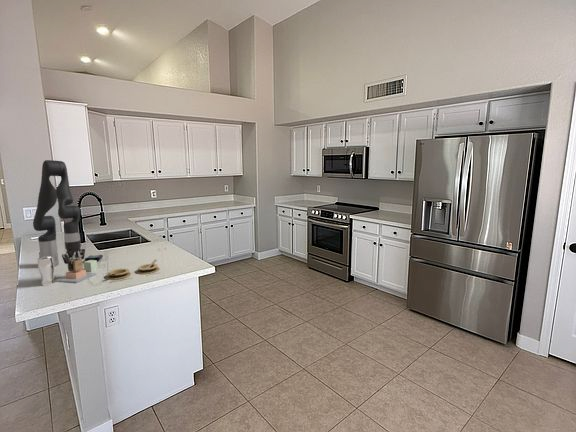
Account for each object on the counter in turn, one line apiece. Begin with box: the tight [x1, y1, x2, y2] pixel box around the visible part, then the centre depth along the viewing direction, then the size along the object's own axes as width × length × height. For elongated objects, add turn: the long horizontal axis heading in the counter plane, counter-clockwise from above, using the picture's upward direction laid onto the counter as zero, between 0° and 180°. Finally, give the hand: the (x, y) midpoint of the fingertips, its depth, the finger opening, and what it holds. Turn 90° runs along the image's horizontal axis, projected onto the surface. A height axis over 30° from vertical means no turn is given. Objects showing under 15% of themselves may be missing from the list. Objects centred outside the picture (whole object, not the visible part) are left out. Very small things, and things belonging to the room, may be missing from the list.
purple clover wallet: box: [84, 254, 104, 262], centre depth 218 cm, size 9×3×11 cm
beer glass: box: [37, 256, 56, 287], centre depth 172 cm, size 7×7×15 cm
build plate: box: [55, 269, 97, 284], centre depth 182 cm, size 14×14×4 cm
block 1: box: [67, 258, 84, 272], centre depth 181 cm, size 5×5×6 cm
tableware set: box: [105, 258, 161, 284], centre depth 191 cm, size 30×20×6 cm, turn 126°
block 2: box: [83, 260, 99, 273], centre depth 196 cm, size 5×5×6 cm
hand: (75, 268), depth 182 cm, fingers closed on block 1, 4 cm apart
